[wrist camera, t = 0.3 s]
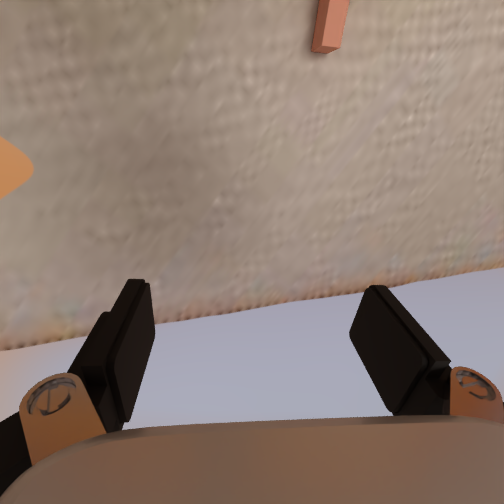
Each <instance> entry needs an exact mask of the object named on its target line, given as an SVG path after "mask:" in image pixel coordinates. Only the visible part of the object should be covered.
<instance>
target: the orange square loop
mask: <svg viewBox="0 0 504 504" xmlns="http://www.w3.org/2000/svg"><path fill="white" fill-rule="evenodd" d="M348 5H349V0H319V6H318V12H317V18H316V25H315V31H314V37H313V43H312V50H311V52H319V53H330V52H332V51H334V50H336V49H339V48H340V45H341V40H342V35H343V30H344V25H345V20H346V15H347V10H348Z"/></svg>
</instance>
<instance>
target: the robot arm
mask: <svg viewBox="0 0 504 504" xmlns="http://www.w3.org/2000/svg"><path fill="white" fill-rule="evenodd" d="M349 335H350V339H351V341H352V343H353V345H354V347H355V349H356V351H357V353H358V355H359V356H360V358H361V360H362V362H363V364H364V366H365V368H366V370H367V372H368V374H369V375H370V377H371V379H372V381H373V383H374V385H375V387H376V389H377V391H378V393H379V395H380V396H381V398H382V400H383V402H384V404H385V406H386V408H387V409H388V410H389V411H390V412H392V414H393V415H394V416H382V417H380V416H379V417H353V418H352V417H350V418H324V419H299V420H276V421H255V422H253V421H252V422H230V423H209V424H190V425H174V426H158V427H146V428H137V429H128V430H122V428H123V425H124V422H129V420H130V419H131V415H132V412H133V409H134V405H135V402H136V399H137V395H138V392H139V389H140V385H141V382H142V379H143V375H144V372H145V369H146V365H147V362H148V358H149V356H150V352H151V349H152V345H153V342H154V339H155V325H154V316H153V308H152V299H151V291H150V284H149V283H145V280H144V279H128V280H127V282H126V284H125V286H124V288H123V289H122V291H121V293H120V295H119V297H118V299H117V300H116V302H115V304H114V306H113V308H112V310H111V311H110V312H103V313H102V314H101V315H100V317H99V318H98V320H97V322H96V324H95V325H94V327H93V329H92V330H91V332H90V334H89V336H88V337H87V339H86V341H85V342H84V344H83V346H82V348H81V349H80V351H79V353H78V354H77V356H76V358H75V359H74V361H73V363H72V365H71V366H70V368H69V370H68V372H67V373H60V374H55V375H52V376H50V377H47V378H45V379H43V380H42V381H40V382H38V383H37V384H36V385H35V386H33V387H32V388H31V389H30V390H29V391H28V392H27V394H26V395H25V396H24V397H23V399H22V401H21V403H20V406H19V411H18V412H17V413H15V414H13V415H12V416H10V417H9V418H7V419H5V420H3V421H2V422H0V504H504V402H503V401H502V397H501V394H500V392H499V390H498V389H497V387H496V386H495V385H494V384H493V383H492V382H491V381H490V380H489V379H487V378H486V377H485V376H483V375H482V374H480V373H478V372H476V371H475V370H472V369H470V368H466V367H454V368H453V369H452V368H451V367H450V366H449V363H450V362H451V360H450V359H449V358H448V357H447V356H446V355H445V354H444V352H443V351H442V350H441V349H440V348H439V347H438V346H437V344H436V343H435V342H434V341H433V340H432V338H431V337H430V336H429V335H428V334H427V333H426V332H425V330H424V329H423V328H422V327H421V326H420V325H419V324H418V322H417V321H416V320H415V319H414V318H413V317H412V315H411V314H410V313H409V312H408V311H407V310H406V309H405V307H404V306H403V305H402V304H401V303H400V302H399V301H398V300H397V298H396V297H395V296H394V295H393V294H392V293H391V291H390V290H389V289H388V288H387V287H386V286H384V285H371V286H369V288H367V289H366V290H365V292H364V295H363V297H362V300H361V303H360V305H359V308H358V310H357V313H356V316H355V318H354V321H353V323H352V326H351V329H350V332H349Z"/></svg>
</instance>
